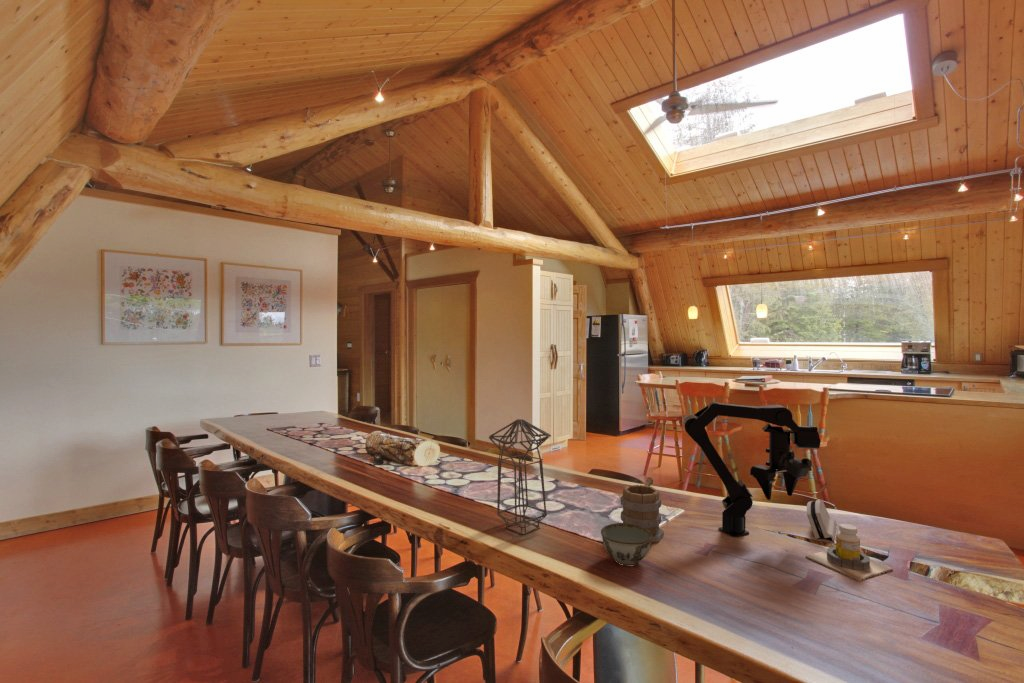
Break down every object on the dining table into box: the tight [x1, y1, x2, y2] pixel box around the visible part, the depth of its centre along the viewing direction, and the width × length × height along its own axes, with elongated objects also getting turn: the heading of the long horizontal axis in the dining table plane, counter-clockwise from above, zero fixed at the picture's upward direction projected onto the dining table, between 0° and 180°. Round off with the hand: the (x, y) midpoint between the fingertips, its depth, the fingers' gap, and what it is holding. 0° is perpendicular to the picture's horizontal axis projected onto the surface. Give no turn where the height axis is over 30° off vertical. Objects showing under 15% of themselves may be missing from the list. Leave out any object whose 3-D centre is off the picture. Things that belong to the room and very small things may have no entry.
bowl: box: [600, 522, 652, 566], centre depth 133 cm, size 14×13×8 cm
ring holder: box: [805, 546, 894, 582], centre depth 131 cm, size 14×14×2 cm
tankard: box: [620, 476, 665, 543], centre depth 154 cm, size 20×13×15 cm, turn 148°
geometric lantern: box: [488, 418, 552, 535], centre depth 156 cm, size 16×16×35 cm
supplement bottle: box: [835, 523, 861, 561], centre depth 131 cm, size 5×5×10 cm
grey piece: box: [806, 499, 837, 541], centre depth 154 cm, size 17×5×10 cm, turn 145°
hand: (779, 497), depth 149 cm, fingers open, 9 cm apart
